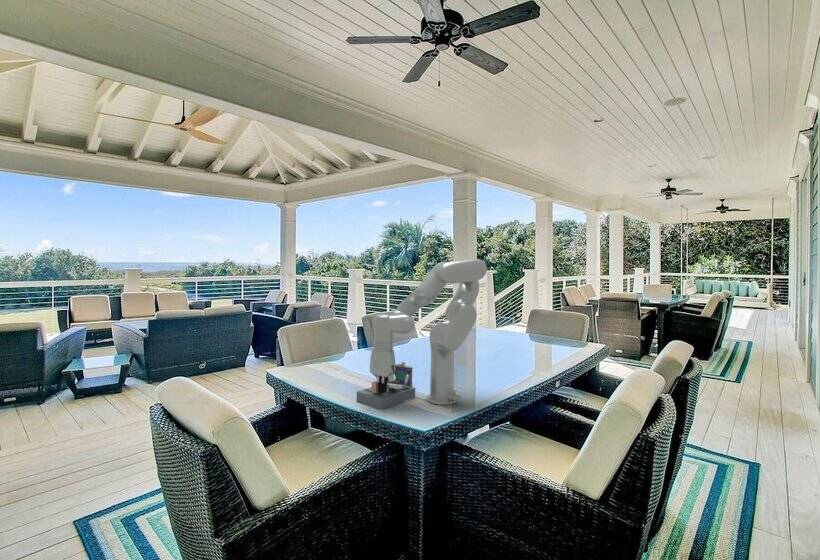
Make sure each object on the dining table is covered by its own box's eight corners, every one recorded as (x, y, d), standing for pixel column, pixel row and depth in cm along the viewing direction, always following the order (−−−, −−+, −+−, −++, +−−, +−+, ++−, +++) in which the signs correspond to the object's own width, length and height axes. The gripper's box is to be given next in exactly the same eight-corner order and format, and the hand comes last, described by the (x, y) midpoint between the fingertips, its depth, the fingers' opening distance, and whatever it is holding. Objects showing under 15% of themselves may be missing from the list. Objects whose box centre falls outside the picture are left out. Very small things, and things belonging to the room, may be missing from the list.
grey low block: (415, 397, 175) (415, 384, 175) (381, 409, 160) (381, 395, 160) (390, 390, 184) (391, 377, 184) (356, 401, 169) (356, 387, 169)
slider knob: (381, 391, 167) (381, 381, 167) (375, 393, 165) (376, 383, 165) (377, 390, 169) (377, 380, 169) (371, 392, 167) (371, 381, 167)
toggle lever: (408, 387, 173) (413, 370, 175) (404, 386, 172) (410, 368, 174) (404, 386, 175) (409, 369, 177) (400, 385, 173) (406, 367, 175)
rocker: (402, 388, 171) (403, 386, 171) (389, 387, 165) (389, 384, 165) (395, 386, 174) (395, 384, 174) (382, 385, 168) (382, 382, 168)
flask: (413, 385, 192) (413, 362, 191) (409, 387, 189) (410, 364, 189) (396, 382, 196) (396, 360, 196) (392, 384, 194) (392, 361, 194)
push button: (398, 384, 178) (398, 377, 178) (389, 386, 175) (389, 379, 175) (389, 381, 182) (389, 374, 182) (381, 384, 178) (381, 377, 178)
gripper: (363, 344, 166) (362, 390, 167) (390, 350, 156) (389, 398, 157) (376, 342, 172) (375, 386, 172) (404, 347, 162) (403, 394, 163)
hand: (382, 392), depth 165 cm, fingers closed
